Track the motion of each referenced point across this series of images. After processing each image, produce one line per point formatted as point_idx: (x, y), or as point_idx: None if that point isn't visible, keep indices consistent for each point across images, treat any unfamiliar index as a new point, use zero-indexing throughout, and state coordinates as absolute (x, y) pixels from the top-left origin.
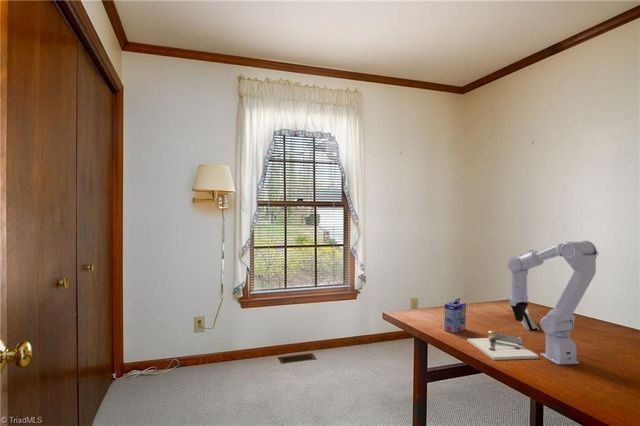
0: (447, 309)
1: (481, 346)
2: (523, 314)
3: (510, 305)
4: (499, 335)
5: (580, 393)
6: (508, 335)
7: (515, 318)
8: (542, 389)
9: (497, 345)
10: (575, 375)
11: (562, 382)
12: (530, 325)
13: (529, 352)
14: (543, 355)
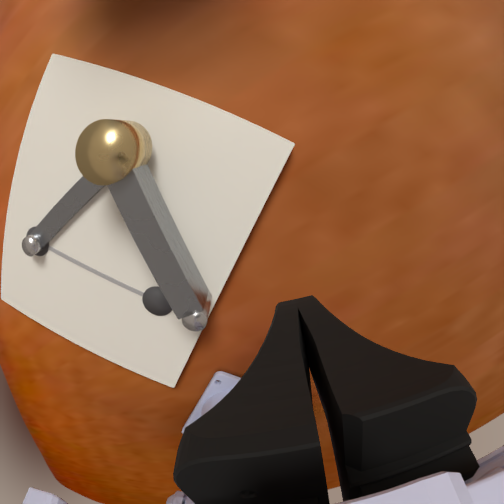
0: None
1: (23, 185)
2: (323, 405)
3: (187, 427)
4: (119, 208)
5: (92, 471)
6: (164, 253)
7: (276, 311)
8: (33, 432)
9: (99, 216)
10: (161, 461)
11: (94, 452)
12: None
13: (168, 356)
14: (206, 389)
